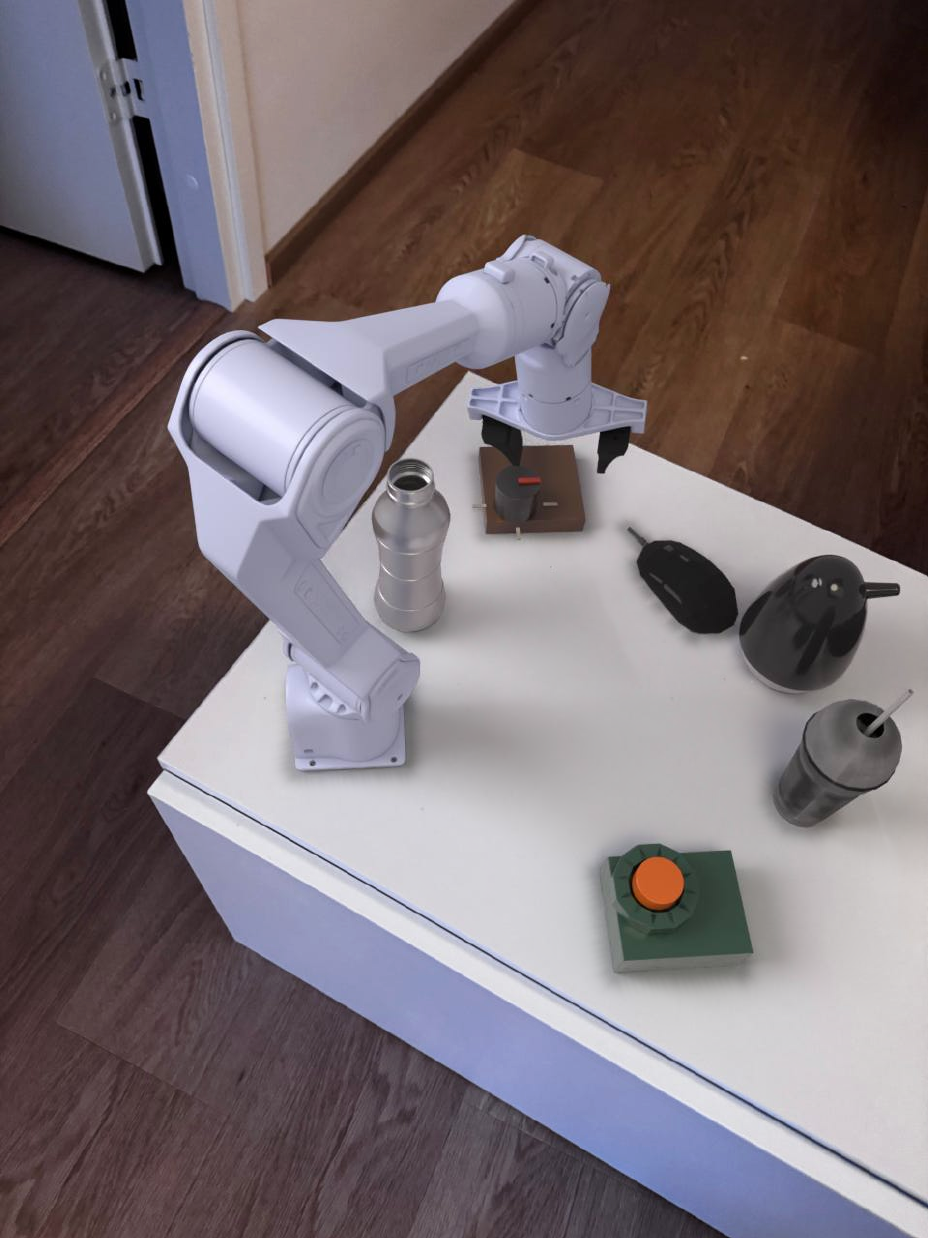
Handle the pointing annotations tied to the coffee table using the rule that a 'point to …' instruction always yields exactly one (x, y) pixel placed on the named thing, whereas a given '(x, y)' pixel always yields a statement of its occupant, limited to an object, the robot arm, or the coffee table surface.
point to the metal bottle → (410, 546)
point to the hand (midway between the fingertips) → (559, 460)
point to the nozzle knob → (516, 493)
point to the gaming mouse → (688, 585)
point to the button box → (676, 914)
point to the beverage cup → (839, 760)
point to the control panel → (556, 494)
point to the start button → (657, 883)
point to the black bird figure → (808, 624)
